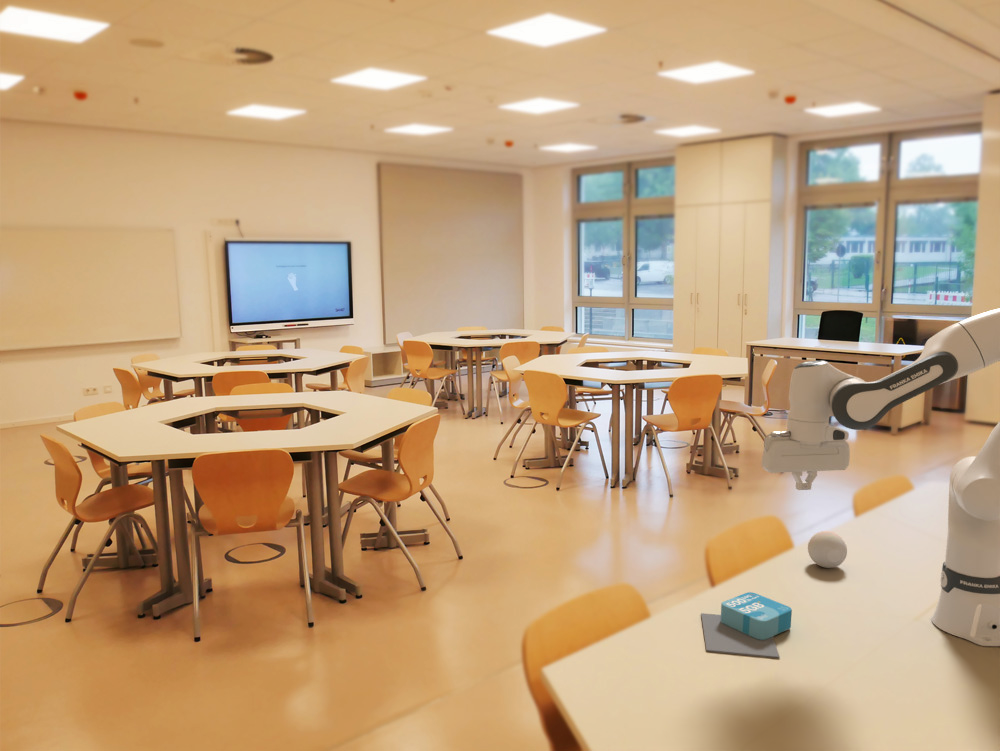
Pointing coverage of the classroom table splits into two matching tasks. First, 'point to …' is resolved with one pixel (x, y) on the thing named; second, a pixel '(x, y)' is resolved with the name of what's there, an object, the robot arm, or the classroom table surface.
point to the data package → (756, 615)
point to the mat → (734, 640)
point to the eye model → (827, 549)
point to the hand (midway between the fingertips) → (803, 489)
